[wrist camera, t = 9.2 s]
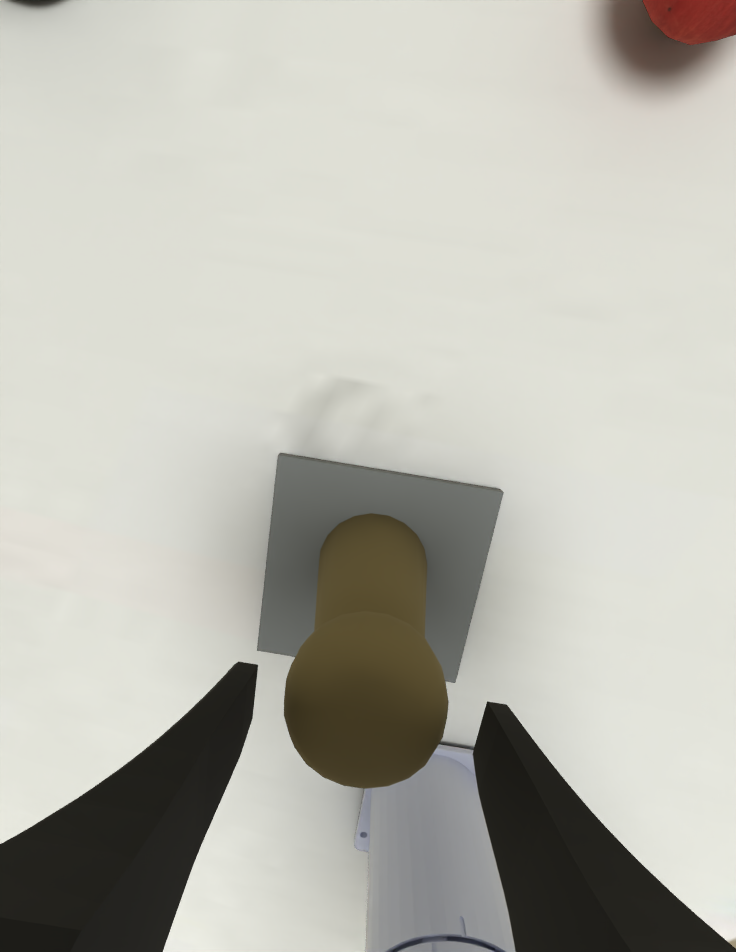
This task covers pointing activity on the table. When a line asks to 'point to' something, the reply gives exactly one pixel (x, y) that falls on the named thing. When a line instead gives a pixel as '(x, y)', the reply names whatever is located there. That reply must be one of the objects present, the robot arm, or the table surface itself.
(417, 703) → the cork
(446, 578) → the placemat
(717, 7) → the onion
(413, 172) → the table surface
